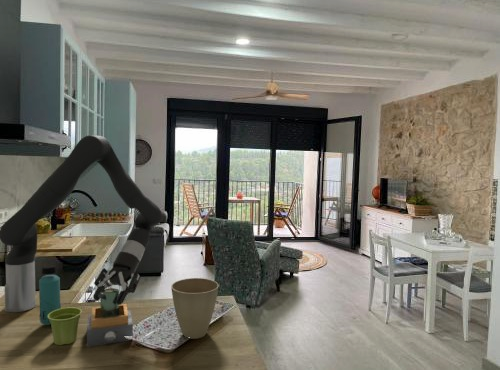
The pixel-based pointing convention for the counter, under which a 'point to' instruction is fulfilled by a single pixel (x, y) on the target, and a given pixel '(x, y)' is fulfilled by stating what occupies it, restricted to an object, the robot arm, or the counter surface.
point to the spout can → (109, 302)
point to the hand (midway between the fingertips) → (106, 301)
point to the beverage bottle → (49, 293)
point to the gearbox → (109, 327)
